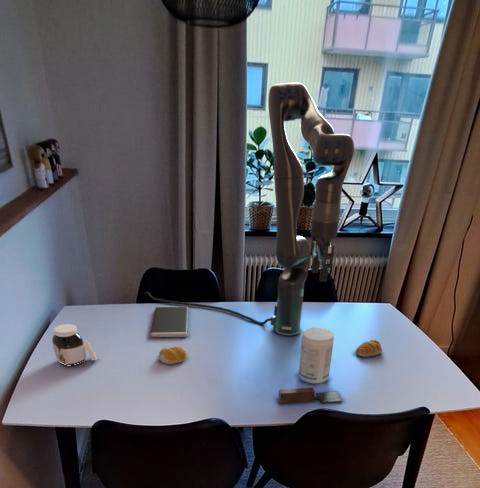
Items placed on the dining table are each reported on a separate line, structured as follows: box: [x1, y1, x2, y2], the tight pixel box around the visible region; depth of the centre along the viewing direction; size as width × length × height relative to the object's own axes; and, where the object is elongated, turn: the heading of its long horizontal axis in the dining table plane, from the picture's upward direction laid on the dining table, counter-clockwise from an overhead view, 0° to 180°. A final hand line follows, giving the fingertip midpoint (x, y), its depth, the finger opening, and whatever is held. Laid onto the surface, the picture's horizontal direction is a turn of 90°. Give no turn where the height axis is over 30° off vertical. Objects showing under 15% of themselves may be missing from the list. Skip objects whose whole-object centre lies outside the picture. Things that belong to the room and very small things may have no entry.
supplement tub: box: [298, 327, 334, 384], centre depth 146 cm, size 10×10×15 cm
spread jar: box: [51, 323, 98, 368], centre depth 153 cm, size 12×11×12 cm
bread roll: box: [158, 346, 187, 365], centre depth 158 cm, size 8×9×4 cm
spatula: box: [277, 386, 343, 405], centre depth 139 cm, size 18×5×3 cm, turn 99°
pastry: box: [355, 339, 383, 358], centre depth 164 cm, size 9×7×4 cm
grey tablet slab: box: [150, 306, 189, 338], centre depth 183 cm, size 13×27×2 cm, turn 4°
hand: (318, 276), depth 143 cm, fingers open, 8 cm apart
